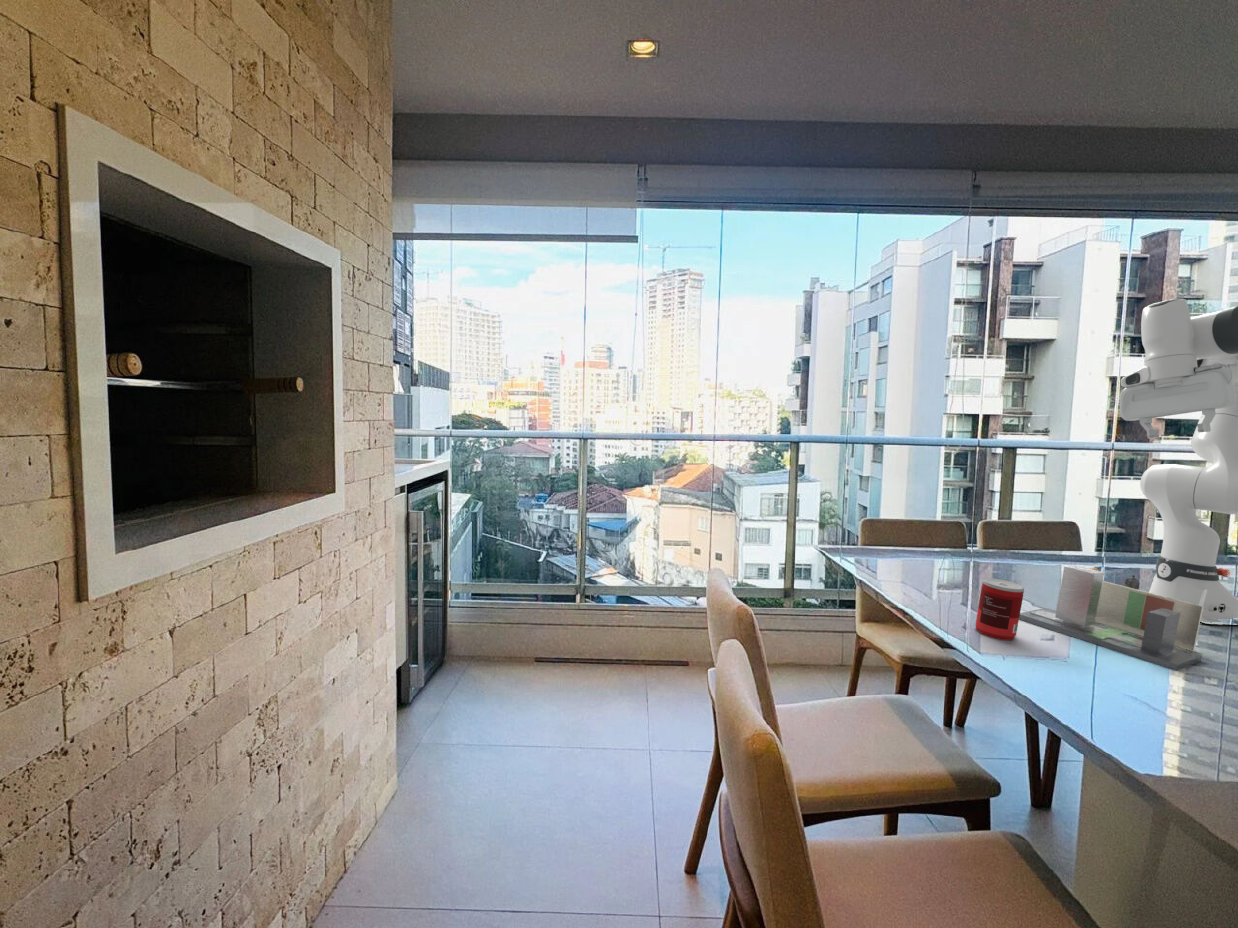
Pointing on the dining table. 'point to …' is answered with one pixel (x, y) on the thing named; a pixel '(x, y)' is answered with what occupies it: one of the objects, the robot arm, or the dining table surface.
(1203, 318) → the robot arm
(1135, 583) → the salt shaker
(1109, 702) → the dining table surface
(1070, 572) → the brushed steel slab
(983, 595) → the canned food
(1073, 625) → the base
